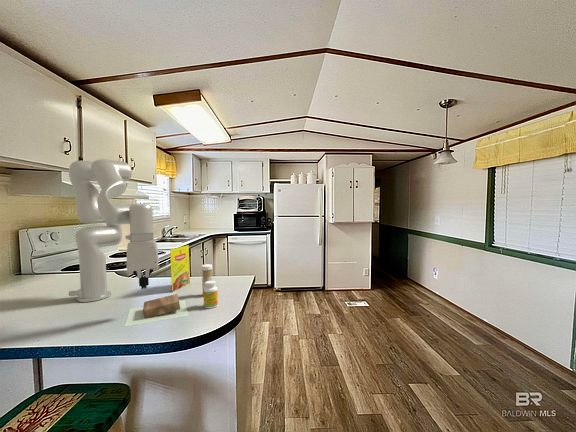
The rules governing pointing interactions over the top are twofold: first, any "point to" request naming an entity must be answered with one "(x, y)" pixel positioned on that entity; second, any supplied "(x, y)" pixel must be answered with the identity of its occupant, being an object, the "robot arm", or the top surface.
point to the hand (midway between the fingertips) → (144, 287)
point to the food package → (180, 267)
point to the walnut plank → (161, 306)
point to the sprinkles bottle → (206, 274)
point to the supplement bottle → (210, 295)
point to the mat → (138, 317)
